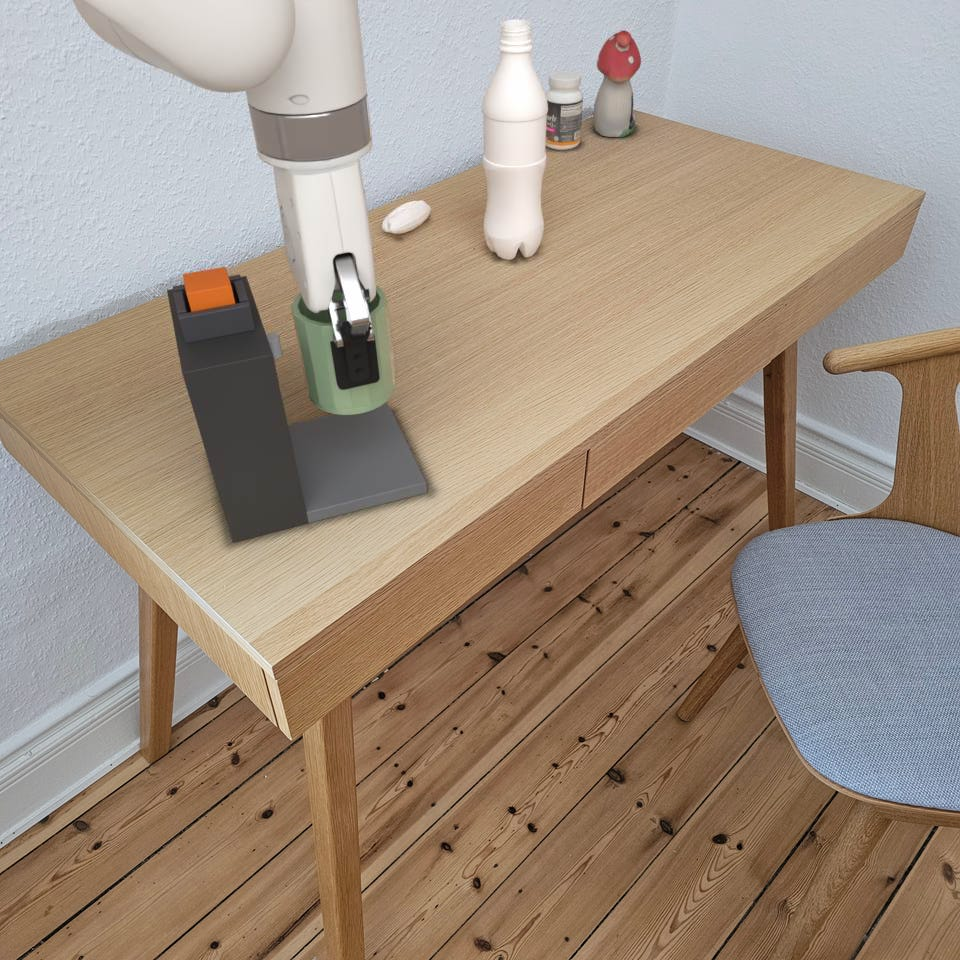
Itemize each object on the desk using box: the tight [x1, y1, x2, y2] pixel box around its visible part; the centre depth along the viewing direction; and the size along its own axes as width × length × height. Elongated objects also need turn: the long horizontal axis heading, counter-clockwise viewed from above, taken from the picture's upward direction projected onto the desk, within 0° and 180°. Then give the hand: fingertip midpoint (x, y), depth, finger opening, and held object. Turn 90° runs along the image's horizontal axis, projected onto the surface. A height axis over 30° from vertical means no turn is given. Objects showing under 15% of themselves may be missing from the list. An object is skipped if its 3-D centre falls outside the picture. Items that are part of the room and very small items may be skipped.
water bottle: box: [481, 19, 548, 261], centre depth 95 cm, size 7×7×25 cm
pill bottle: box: [545, 69, 584, 151], centre depth 126 cm, size 6×6×10 cm
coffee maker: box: [166, 273, 428, 544], centre depth 67 cm, size 16×12×18 cm
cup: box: [290, 285, 396, 415], centre depth 66 cm, size 7×7×8 cm
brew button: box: [182, 266, 236, 312], centre depth 59 cm, size 3×3×2 cm
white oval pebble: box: [381, 199, 432, 235], centre depth 107 cm, size 3×8×3 cm, turn 145°
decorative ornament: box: [592, 29, 642, 138], centre depth 128 cm, size 9×7×15 cm
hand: (346, 356), depth 67 cm, fingers closed on cup, 7 cm apart
